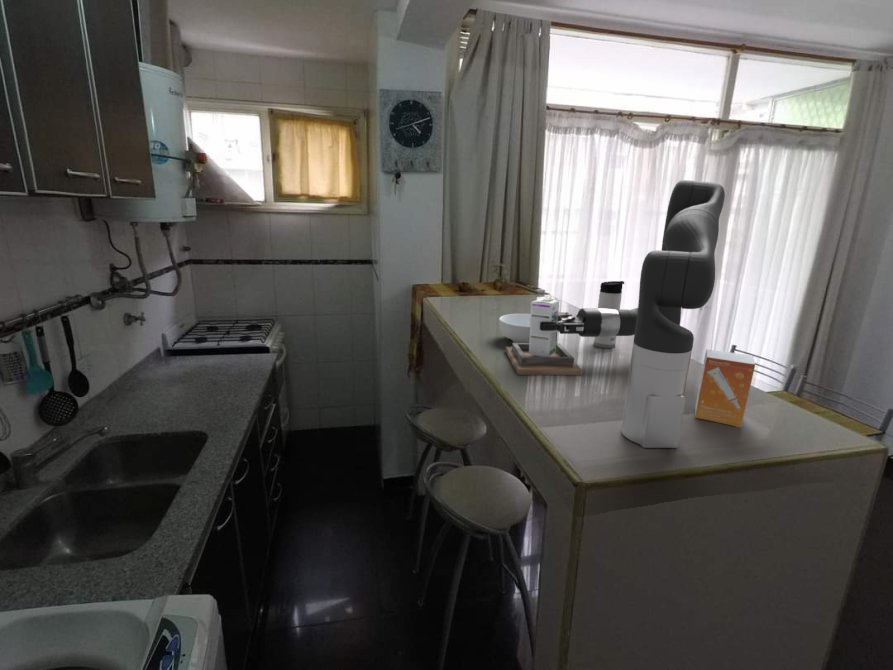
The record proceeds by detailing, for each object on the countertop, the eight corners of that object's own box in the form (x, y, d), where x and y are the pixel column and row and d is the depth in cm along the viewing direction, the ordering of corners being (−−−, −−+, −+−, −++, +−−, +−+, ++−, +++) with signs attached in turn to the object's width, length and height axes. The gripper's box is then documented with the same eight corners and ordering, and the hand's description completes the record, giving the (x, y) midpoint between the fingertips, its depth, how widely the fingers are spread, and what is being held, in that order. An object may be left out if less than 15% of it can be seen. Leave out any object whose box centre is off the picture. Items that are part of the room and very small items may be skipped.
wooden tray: (581, 375, 112) (582, 361, 112) (517, 374, 112) (518, 361, 111) (560, 352, 131) (561, 340, 130) (505, 351, 130) (506, 340, 129)
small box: (694, 418, 90) (705, 356, 86) (694, 407, 95) (705, 348, 92) (742, 428, 86) (756, 363, 83) (739, 416, 91) (752, 354, 88)
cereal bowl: (492, 345, 137) (493, 322, 135) (503, 332, 152) (505, 311, 150) (549, 351, 131) (551, 328, 130) (555, 337, 147) (557, 316, 145)
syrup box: (548, 358, 117) (553, 303, 113) (527, 354, 120) (530, 300, 116) (556, 352, 121) (560, 299, 118) (535, 349, 124) (539, 297, 121)
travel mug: (617, 349, 135) (626, 282, 130) (594, 347, 136) (602, 281, 131) (614, 343, 141) (622, 279, 136) (592, 341, 142) (599, 278, 137)
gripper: (590, 303, 125) (531, 303, 124) (609, 314, 111) (544, 314, 110) (587, 329, 127) (529, 329, 126) (606, 343, 113) (541, 343, 112)
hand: (536, 322), depth 118 cm, fingers closed on syrup box, 7 cm apart
